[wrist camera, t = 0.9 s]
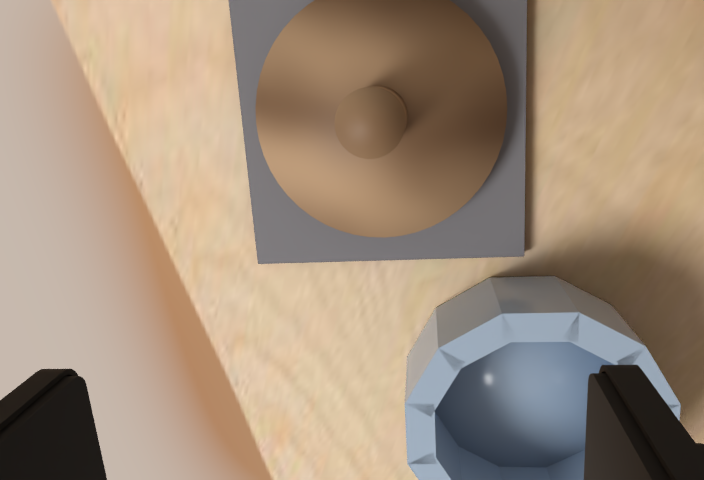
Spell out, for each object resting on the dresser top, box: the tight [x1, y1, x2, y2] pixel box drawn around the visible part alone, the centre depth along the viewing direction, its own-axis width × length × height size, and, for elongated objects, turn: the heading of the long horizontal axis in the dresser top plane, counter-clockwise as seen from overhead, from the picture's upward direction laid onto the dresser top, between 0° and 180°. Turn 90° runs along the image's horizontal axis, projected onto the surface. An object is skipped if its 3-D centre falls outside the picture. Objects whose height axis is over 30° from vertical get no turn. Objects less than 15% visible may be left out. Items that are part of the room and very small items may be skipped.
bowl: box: [405, 276, 681, 480], centre depth 30 cm, size 12×12×5 cm
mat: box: [229, 0, 527, 264], centre depth 29 cm, size 15×14×1 cm
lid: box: [255, 0, 507, 238], centre depth 26 cm, size 12×12×6 cm
